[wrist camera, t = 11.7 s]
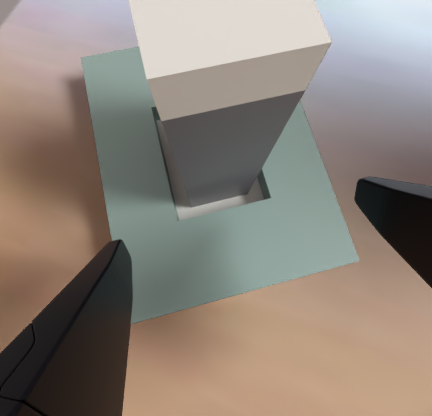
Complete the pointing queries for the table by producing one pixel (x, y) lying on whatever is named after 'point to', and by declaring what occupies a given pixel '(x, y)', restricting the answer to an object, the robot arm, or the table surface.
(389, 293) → the table surface
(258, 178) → the pocket plate
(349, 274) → the table surface
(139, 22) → the block
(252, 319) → the table surface
